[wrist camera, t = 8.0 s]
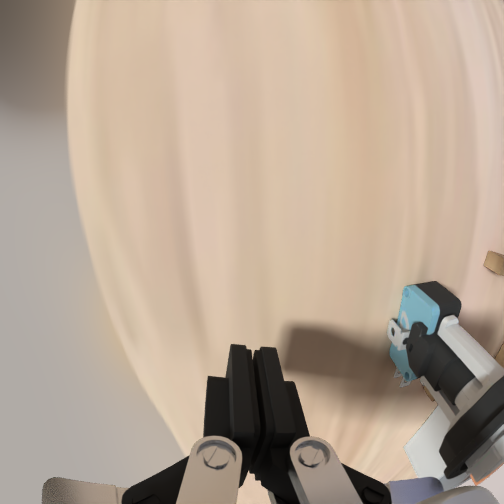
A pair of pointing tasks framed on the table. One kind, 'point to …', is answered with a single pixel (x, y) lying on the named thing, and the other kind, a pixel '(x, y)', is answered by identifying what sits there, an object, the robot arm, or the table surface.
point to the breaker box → (432, 451)
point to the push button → (451, 377)
